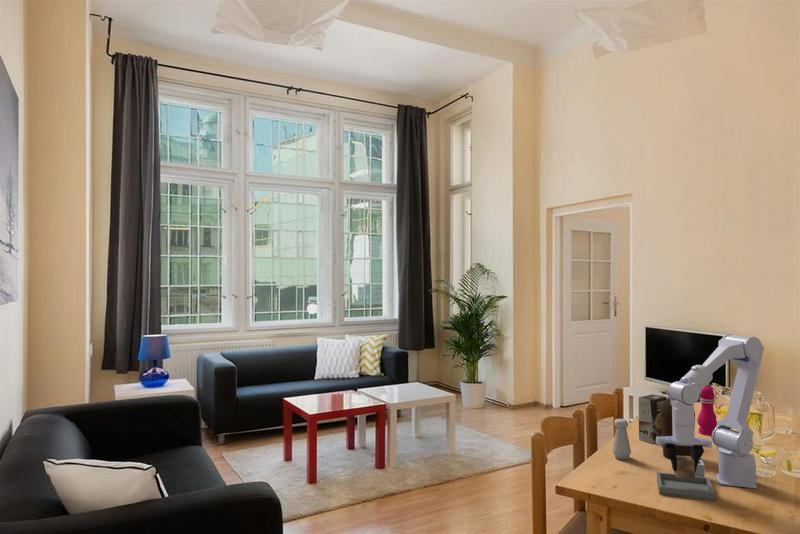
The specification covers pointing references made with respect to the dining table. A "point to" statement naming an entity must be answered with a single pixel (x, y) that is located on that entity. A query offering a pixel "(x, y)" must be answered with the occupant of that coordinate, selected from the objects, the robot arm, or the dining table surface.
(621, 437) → the salt shaker
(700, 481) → the tray
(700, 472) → the wide bore block
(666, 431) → the olive oil
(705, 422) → the pepper mill
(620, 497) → the dining table surface
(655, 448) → the dining table surface
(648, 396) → the coffee box
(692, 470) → the small bore block
